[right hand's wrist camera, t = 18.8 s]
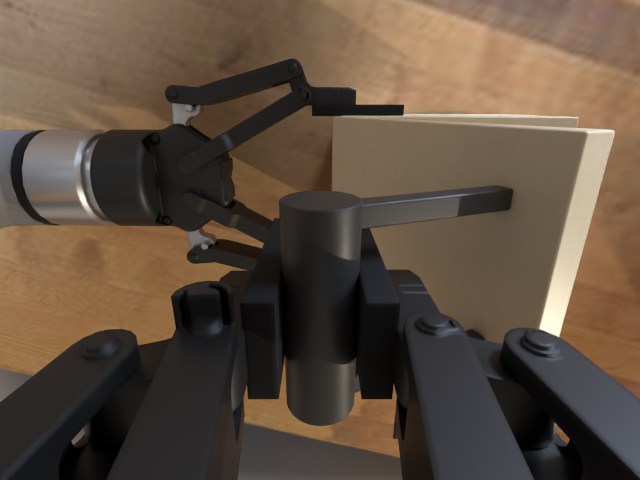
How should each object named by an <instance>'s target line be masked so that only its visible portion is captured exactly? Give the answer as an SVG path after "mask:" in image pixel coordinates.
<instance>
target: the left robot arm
mask: <svg viewBox="0 0 640 480" xmlns="http://www.w3.org/2000/svg"><path fill="white" fill-rule="evenodd" d="M286 83H290V86H291V89H292V92H291V93H290V94H288V95H286V96H285V97H283V98H281V99H280V100H278V101H276V102H275V103H273V104H271V105H270V106H268V107H266V108H265V109H263V110H262V111H260V112H258V113H257V114H255V115H253V116H252V117H250V118H248V119H247V120H245V121H243V122H242V123H240V124H238V125H237V126H235V127H233V128H232V129H230V130H229V131H227V132H225V133H223V134H221V135H219V136H218V137H216V138H214V139H213V140H211V139H210V138H208V137H207V136H206V135H204V134H203V133H201V132H200V131H199V130H197V129H196V128H194V127H193V126H191V125H190V122H191V119H192V118H193V117H195V116H200V115H201V114H202V113H203V111H204V105H214V104H219V103H222V102H226V101H229V100H232V99H236V98H239V97H242V96H246V95H249V94H252V93H256V92H259V91H262V90H266V89H269V88H273V87H276V86H279V85H283V84H286ZM165 95H166V98H167V100H168V101H170V102H171V103H172V115H173V124H172V125H170V126H169V127H167V128H165V129H163V130H110V131H108V132H105V131H103V130H37V131H25V130H0V228H4V227H8V226H17V225H86V226H111V225H114V224H117V225H120V226H176V227H178V228H181V229H182V230H185V231H187V234H188V238H189V243H190V248H191V250H190V251H189V252H188V254H187V259H188V260H189V261H190V262H191V263H195V264H197V263H211V262H217V263H221V264H225V265H229V266H233V267H237V268H241V269H245V270H249V271H253V270H254V268H255V265H256V263H257V260H258V258H259V255H260V253H261V250H262V248H258V247H254V246H250V245H246V244H242V243H238V242H234V241H230V240H225V239H217V238H216V236H215V235H213V234H210V233H206V232H205V231H204V230H203V228H202V227H203V226H204V225H205V224H207V223H208V222H209V221H211V220H214V221H216V222H218V223H220V224H222V225H224V226H226V227H230V228H235V229H237V230H239V231H241V232H243V233H245V234H247V235H249V236H251V237H253V238H255V239H257V240H259V241H261V242H263V243H265V241H266V238H267V236H268V233H269V231H270V228H271V226H272V223H273V221H271V220H270V219H268V218H266V217H264V216H262V215H260V214H258V213H256V212H254V211H252V210H250V209H249V208H247V207H246V206H245V205H244V204H243V203H241V202H239V201H237V200H235V199H233V197H234V196H235V188H234V184H233V181H232V178H231V175H232V169H233V163H232V158H230V156H229V154H228V152H229V151H231V150H233V149H234V148H236V147H238V146H239V145H241V144H242V143H244V142H246V141H247V140H249V139H251V138H253V137H254V136H256V135H258V134H259V133H261V132H263V131H264V130H266V129H268V128H269V127H271V126H273V125H274V124H276V123H278V122H279V121H281V120H283V119H285V118H286V117H288V116H290V115H291V114H293V113H295V112H296V111H298V110H300V109H301V108H303V107H305V106H312V116H403V112H404V105H355V104H356V90H354V89H351V88H349V87H342V88H340V87H336V88H335V87H313V86H311V85H309V84H308V82H307V80H306V77H305V74H304V71H303V68H302V66H301V64H300V62H299V61H298V60H296V59H289V60H285V61H282V62H279V63H275V64H272V65H269V66H266V67H262V68H259V69H256V70H252V71H249V72H246V73H243V74H239V75H236V76H233V77H229V78H226V79H223V80H220V81H216V82H213V83H210V84H206V85H203V86H200V87H187V86H176V85H171V86H169V87H167V89H166V90H165Z"/></svg>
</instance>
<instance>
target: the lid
mask: <svg viewBox="0 0 640 480" xmlns="http://www.w3.org/2000/svg"><path fill="white" fill-rule="evenodd" d="M614 134H615V131H613V130H606V129H586V128H566V127H546V126H526V125H506V124H486V123H466V122H446V121H426V120H406V119H386V118H366V117H333V141H332V191H304V192H297V193H292V194H289V195H286V196H284V197H282V198H281V199H280V201H279V211H280V237H281V263H282V290H283V316H284V342H285V368H286V394H287V405H288V408H289V410H290V411H291V413H292V414H293V415H294V416H295V417H296V418H297V419H299V420H300V421H302V422H304V423H307V424H310V425H315V426H326V425H331V424H334V423H337V422H339V421H341V420H342V419H344V418H345V417H346V416H347V415H348V414H349V413H350V411H351V410H352V408H353V405H354V393H355V392H358V391H361V390H360V383H359V376H358V369H357V362H356V338H357V315H358V292H359V272H360V255H361V232H362V229H368V228H370V230H371V232H372V235H373V237H374V240H375V242H376V245H377V247H378V250H379V252H380V255H381V257H382V259H383V262H384V264H385V267H386V269H387V270H410V271H412V272H413V273H415V274H416V275H418V276H419V277H420V279H421V280H422V282H423V284H424V287H426V289H427V291H428V294H430V296H431V297H432V299H433V301H434V303H435V304H436V306H437V308H438V309H439V311H440V313H442V314H444V315H447V316H450V317H452V318H453V319H455V320H456V321H458V322H459V323H460V324H461V326H462V327H463V328H464V330H465V332H466V334H467V336H469V337H472V338H476V339H480V340H485V341H490V342H495V343H500V344H503V340H504V336H505V334H506V333H507V332H508V331H509V330H511V329H515V328H536V329H540V330H544V331H546V332H548V333H551V334H553V335H556V336H558V337H559V335H560V332H561V328H562V324H563V321H564V317H565V313H566V310H567V306H568V302H569V299H570V295H571V291H572V288H573V284H574V280H575V277H576V273H577V269H578V266H579V262H580V259H581V255H582V251H583V248H584V244H585V240H586V237H587V233H588V229H589V226H590V222H591V218H592V215H593V211H594V207H595V204H596V200H597V196H598V193H599V189H600V185H601V182H602V178H603V174H604V171H605V167H606V163H607V160H608V156H609V152H610V149H611V145H612V141H613V138H614Z"/></svg>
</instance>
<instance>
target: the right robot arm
mask: <svg viewBox="0 0 640 480" xmlns="http://www.w3.org/2000/svg"><path fill="white" fill-rule="evenodd" d="M171 299H172V305H173V312H174V318H175V324H176V330H175V333H174V335H173V337H172V338H170V339H167V340H163V341H159V342H154V343H148V344H143V345H138V343H137V338H136V335H134V334H133V333H132V332H131V331H127V330H123V329H113V330H112V329H110V330H104V331H99V332H96V333H94V334H92V335H90V336H87V337H85V338H83V339H81V340H79V341H78V342H76V343H75V344H73V345H72V346H70V347H69V348H68V349H67V350H65V351H64V352H63V353H62V354H60V355H59V356H58V357H57V358H55V359H54V360H53V361H52V362H50V363H49V364H48V365H47V366H45V367H44V368H43V369H42V370H40V371H39V372H38V373H37V374H35V375H34V376H33V377H32V378H30V379H29V380H28V381H27V382H25V383H24V384H23V385H21V386H20V387H19V388H18V389H16V390H15V391H14V392H13V393H11V394H10V395H9V396H8V397H6V398H5V399H4V400H3V401H1V402H0V480H237V478H238V469H239V460H240V451H241V442H242V433H243V425H244V416H245V413H244V402H243V397H244V393H245V389H246V385H247V390H248V399H279V393H280V386H281V378H282V371H283V364H284V357H285V342H284V316H283V290H282V263H281V237H280V218H274V221H273V223H272V226H271V228H270V231H269V233H268V236H267V238H266V241H265V243H264V245H263V248H262V250H261V253H260V255H259V258H258V260H257V263H256V265H255V268H254V270H253V271H231V272H229V273H228V274H226V275H225V276H223V277H222V278H221V279H220V281H204V282H196V283H193V284H190V285H186V286H184V287H182V288H180V289H178V290H177V291H176V292H175V293H174V294H173V295H172V296H171ZM356 362H357V369H358V376H359V383H360V390H361V397H362V399H392V394H393V383H394V386H395V390H396V394H397V402H396V413H395V423H394V434H393V438H394V439H398V442H399V451H400V460H401V468H402V477H403V480H640V399H639V398H637V397H636V396H635V395H634V394H632V393H631V392H630V391H629V390H627V389H626V388H625V387H623V386H622V385H621V384H620V383H618V382H617V381H616V380H615V379H613V378H612V377H611V376H609V375H608V374H607V373H606V372H604V371H603V370H602V369H601V368H599V367H598V366H597V365H596V364H594V363H593V362H592V361H590V360H589V359H588V358H587V357H585V356H584V355H583V354H582V353H580V352H579V351H578V350H576V349H575V348H574V347H573V346H571V345H570V344H569V343H567V342H566V341H564V340H563V339H561V338H559V337H558V336H556V335H553V334H551V333H548V332H546V331H544V330H540V329H536V328H515V329H511V330H509V331H508V332H507V333H506V334H505V336H504V340H503V344H500V343H495V342H490V341H485V340H480V339H476V338H472V337H469V336H467V334H466V332H465V330H464V328H463V327H462V326H461V324H460V323H459V322H458V321H456V320H455V319H453V318H452V317H450V316H447V315H444V314H442V313H440V311H439V309H438V308H437V306H436V304H435V303H434V301H433V299H432V297H431V296H430V294H428V291H427V289H426V287H424V284H423V282H422V280H421V279H420V277H419V276H418V275H416V274H415V273H413V272H412V271H410V270H387V269H386V267H385V264H384V262H383V259H382V257H381V255H380V252H379V250H378V247H377V245H376V242H375V240H374V237H373V235H372V232H371V230H370V228H368V229H362V232H361V255H360V272H359V292H358V315H357V338H356ZM557 426H559V427H560V429H561V430H562V431H563V432H564V433H565V434H566V435H567V436H568V437H569V438H570V440H569V443H568V444H567V443H566V442H564V441H563V440H562V439H561V438H560V437H559V435H558V434H557V433H556V429H557ZM82 428H84V431H85V435H84V436H83V437H82V438H81V439H80V440H79V441H78V442H77V443H76V444H74V445H73V444H72V442H71V440H72V439H73V438H74V437H75V436H76V435H77V434H78V433H79V432H80V430H81V429H82Z"/></svg>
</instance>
